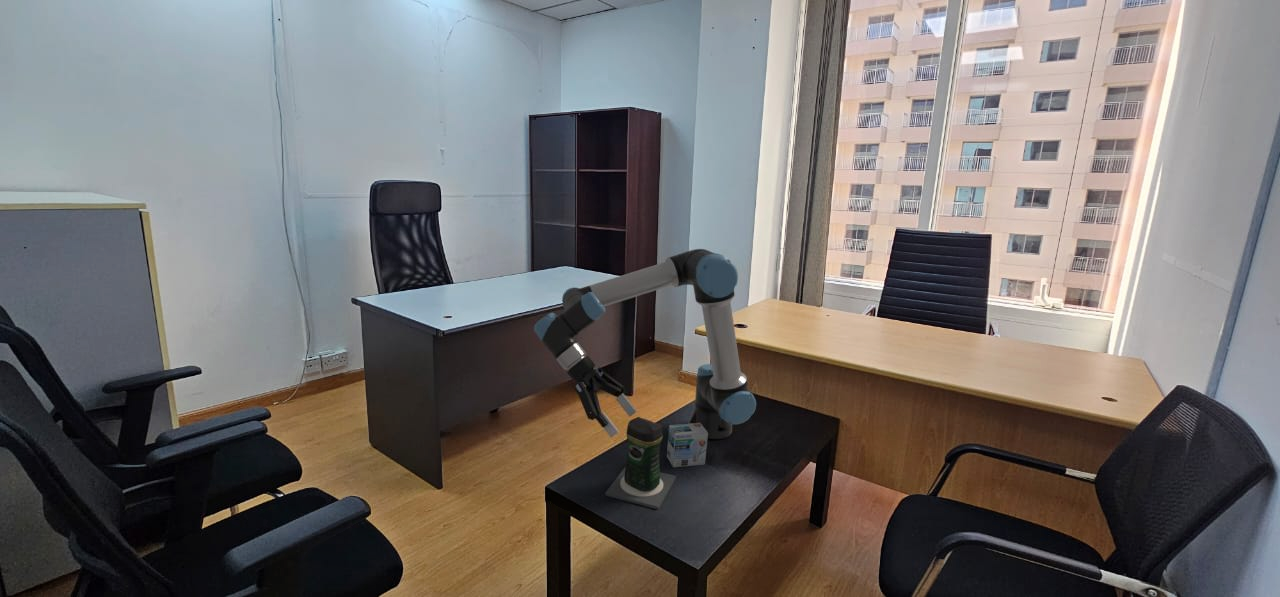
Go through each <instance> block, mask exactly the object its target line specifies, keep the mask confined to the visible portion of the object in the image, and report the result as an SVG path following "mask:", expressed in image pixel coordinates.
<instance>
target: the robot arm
mask: <svg viewBox="0 0 1280 597" xmlns="http://www.w3.org/2000/svg"><path fill="white" fill-rule="evenodd" d="M738 280H739V274H738V270H737V267H736V265H735V264H734V263H733V262H732V261H731V259H729V258H727V257H726V256H725V255H723V254H721V253H715V252H712V251H710V250H708V249H705V248H696V249H692V250H688V251H685V252H681V253H678V254H676V255H672V256H669V257H666V259H665V261H664V262H661V263H658V264H654V265H651V266H648V267H644V268H642V269H638V270H636V271H631V272H630V273H626V274H623V275H619V276H616V277H612V278H609V279H607V280H604V281H601V282H597V283H593V284H591V285H590V284H589V285H587V286H584V287H581V288H579V287H570V288H568V289H565V292H564V293H563V295H562V298H561V301H562V307H563V308H564V311H563V312H561V313H560V314H558V315H557V314H556V313H554V312H550V313H548V314H546V315H545V316H544V317H542V318H541V319H539V321H537V323H535V325H534V326H533V330H534V333H535V334H536V335H537V337H538V338H539V339H540V341H541V343H542V344H543V345H544V346H545V347H546V348H547V350H548V351H549V352H550V353H551V355H552V357H553V358H555V360H556V361H557V362H558V363H559V365H560V366H561V368H563V370H564V371H567V372H566V374H567V376H568V377H569V378H570V379H571V380H572V381H573V382H574V383H576V382H578V383H577V384H576V385H575V386H574V387H573V388H574V390H575V392H576V394H577V395H578V398H579V400H580V402H581V405H582V407H583V409H584V412H585V415H586V417H587V419H588V420H591V421H594V420H596V421H597V422H598V424H599V426H600V427H602V428H603V430H605V432H606V434H607V435H608V436H609V437H610V438H613V437H614V436H615V435H617V434H619V432H620V430H618V428H617V426H616V425H615V424H614V423H613V422H612V420H611V419H610V418H609V417H608V415H607V414H606V413H605V412H604V411H603V412H602V410H601V404H600V401H599V397H598V390H602V391H604V392H605V393H607V394H610V395H611V396H614V397H616V398H615V400H616V402H617V403H618V404H619V406H620V407H621V408H622V410H624V413H626V414H627V416H628V417H629V418H630V417H632V416H633V415H635V414H636V413H637V412H638V410H637V409H636V408H635V406H634V405H633V404H632V403H631V401H630V400H629V399H628V398H627V396H626V395H625V392H626V388H625V387H624V386H625V385H623V384H621V383H620V382H619V381H617V380H616V379H615V378H613V377H612V376H611V375H609V374H608V372H606V371H605V370H604V369H603V368H602V367H600V366H599V367H598V368H597V369H594V368H595V367H596V364H595V362H594V361H593V359H591V356H588V355H587V352H586V351H585V350H584V349H583V347H582V346H581V344H580V343H579V342H578V341H577V340H576V338H575V337H576V336H578V335H579V334H581V333H582V332H583V331H584V330H586V329H587V328H588V327H589V326H591V325H592V324H593V323H595V322H596V321H598V320H599V319H600V318H601V317H602V316H603V315H604V314H605V313H606V308H605V307H607V306H611V305H613V304H616V303H617V304H618V303H620V302H623V301H627V300H630V299H632V298H636V297H639V296H642V295H645V294H648V293H651V292H654V291H655V292H656V291H659V290H660V289H665V288H667V287H671V286H673V287H675V288H678V287H681V286H687V285H689V286H693V293H694V299H695V302H696V303H697V304H699V305H700V306H701V309H702V315H703V321H704V326H705V334H706V339H707V344H708V345H707V346H708V351H709V356H710V363H709V364H708V363H705V364H703V365H700V366H699V367H698V368H697V373H696V387H695V400H694V407H693V410H692V412H691V413H690V416H689V419H688V423H687V424H692V423H701V424H702V426H703V427H704V428H705V429H706V431H707V432H708V438H707V440H708V439H709V440H720V439H721V440H722V439H726V438H729V436H731V434H732V432H733V425H740V424H744V423H745V422H747V421H748V420H750V418H751V416H752V415H754V413H755V411H756V407H757V400H756V399H755V396H754V394H753V393H751V392H750V390H749V385H748V378H747V375H746V374H745V373H744V372H742V370H741V365H740V356H739V352H738V351H739V350H738V345H737V338H736V331H735V325H734V319H733V318H734V317H733V311H732V305H731V302H732V300H733V298H734V297H735V296H736V295H735V288H736V286H737V285H738Z"/></svg>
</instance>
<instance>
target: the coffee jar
mask: <svg viewBox="0 0 1280 597" xmlns="http://www.w3.org/2000/svg"><path fill="white" fill-rule="evenodd" d="M625 434H626V438H627V450H626V451H627V453H626V454H627V455H626V460H625V462H626V463H625V467H626V468H625V467H624V468H625V477H624V480H625V482H626V483H627V484H628V485H630V486H631V487H633V488H636V489H638V490H640V491H644V492H646V491H651V490H653V489H655V488H656V487H657V486H658V485H659V483H660V472H661V469H660V465H661V464H660V447H661V446H660V445H661V442H662V440H663V435H664V434H663V427H662V425H661V424H659V423H656V422H654V421H652V420H648V419H646V418H642V417H640V416H637V417H635V418H633V419H630V420H629V422H628V424H627V428H626V433H625Z"/></svg>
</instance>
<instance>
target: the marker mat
mask: <svg viewBox="0 0 1280 597" xmlns="http://www.w3.org/2000/svg"><path fill="white" fill-rule="evenodd" d="M625 468H626V466H625V467H624V468H623V469H622V470H621V472H620V473H619V474H618V476H617V477H616V478H615V480H614V481H612V484H610V486H609V488H608V489H607V490H606V491H605V496H606V497H610V498H615V499H617V500H621V501H626V502H628V503H629V502H630V503H632V504H637V505H641V506H644V507H648V508H650V509H651V508H652V509H655V510H659V509H660V507H661V505H662V504H663V502H664V500H665V498H666V497H667V494H668V493H669V491H670V490H671V488H672V485H673V484H674V482H675V480H676V478H677V477H676V475H673V474H668V473H666V472H661V471H660V483H659V485H658V486H657V487H656V488H655V489H653V490H651V491H646V492H644V491H640V490H638V489H636V488H633V487H631V486H630V485H628V484H627V483H626V482H625V480H624V477H625Z"/></svg>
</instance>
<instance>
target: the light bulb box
mask: <svg viewBox="0 0 1280 597" xmlns="http://www.w3.org/2000/svg"><path fill="white" fill-rule="evenodd" d="M707 447H708V432H707V431H706V429H705V428H704V427H703V426H702V424H701V423H692V424H688V423H683V424H681V423H679V424H670V425H669V427H668V436H667V449H666V450H667V452H666V453H667V454H666V458H667V459H668V460H669V463H670V465H671V466H672V467H673V468H679V467H692V466H704V465H705V464H706V457H707Z"/></svg>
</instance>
